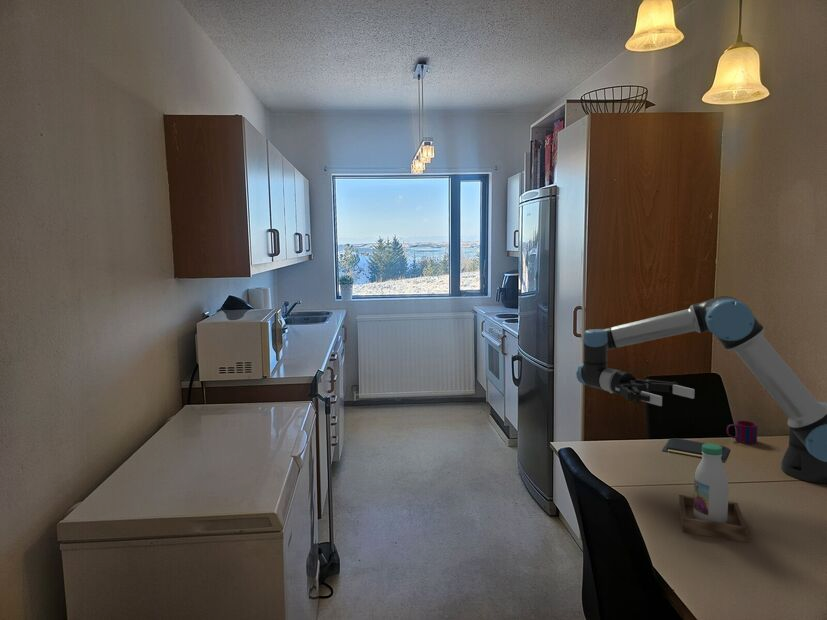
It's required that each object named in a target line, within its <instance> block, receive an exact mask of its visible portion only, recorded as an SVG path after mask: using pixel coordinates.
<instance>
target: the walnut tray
mask: <svg viewBox="0 0 827 620" xmlns="http://www.w3.org/2000/svg"><path fill="white" fill-rule="evenodd" d="M678 509H679V510H678V511H679V517H680V525H681V531H682V532H683V533H688V534H694V535H701V536H705V537H711V538H717V539H718V538H719V539H724V540H730V541H734V542H735V541H737V542H741V543H742V542H743V543H747V542H748V540H747V538H748V528H747V525H746V522H745V518H744V517H743V516H744V515H743V514H742V511H741V509H740V506H739V503H738V502H733V501H728V517H727V523H726V524H725V523H719V522H712V521H706V520H699V519H695V517H694V496H693V495H692V496H691V495H685V494H684V495H682V494H679V495H678Z"/></svg>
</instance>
